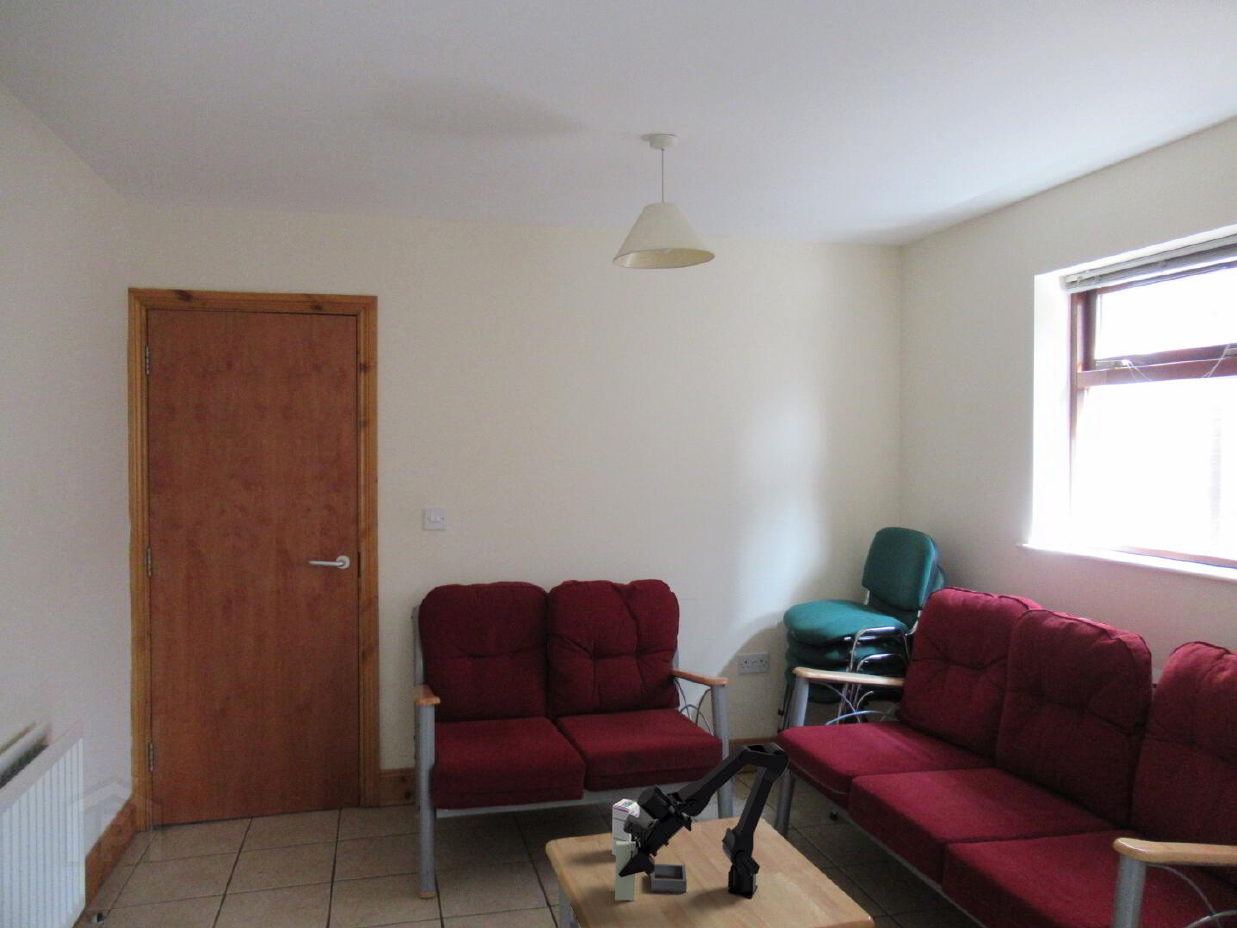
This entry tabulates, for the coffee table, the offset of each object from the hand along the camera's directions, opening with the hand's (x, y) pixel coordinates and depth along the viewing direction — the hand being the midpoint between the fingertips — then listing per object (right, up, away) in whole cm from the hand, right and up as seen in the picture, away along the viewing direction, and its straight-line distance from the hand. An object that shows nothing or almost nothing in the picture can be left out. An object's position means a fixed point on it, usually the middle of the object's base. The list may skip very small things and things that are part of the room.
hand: (619, 869), depth 231 cm
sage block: (+1, -7, 0) cm, 7 cm away
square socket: (+13, -7, +7) cm, 16 cm away
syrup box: (+2, -6, +24) cm, 25 cm away
